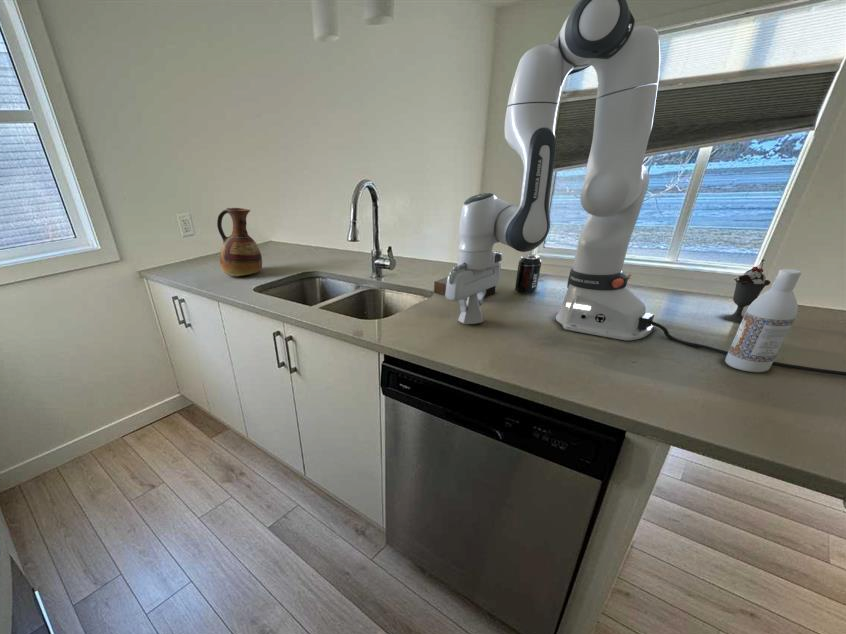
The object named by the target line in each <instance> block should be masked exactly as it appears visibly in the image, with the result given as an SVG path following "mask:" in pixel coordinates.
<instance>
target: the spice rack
mask: <svg viewBox="0 0 846 634" xmlns="http://www.w3.org/2000/svg"><path fill="white" fill-rule="evenodd" d="M496 252H497V253H501V252H500V251H496ZM447 279H448V276H447V277H444V278H440V279H437V280H435V281H434V282H433V293H436V294H439V295H443V296H445V293H446V285H447ZM496 286H497V285H496ZM496 286H494V287H491V288H489V289H486V294H485V296H484V298H486V297H488V296H491V295H494V294H496V288H497V287H496ZM477 294H478V293H477Z"/></svg>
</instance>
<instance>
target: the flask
mask: <svg viewBox="0 0 846 634" xmlns="http://www.w3.org/2000/svg"><path fill="white" fill-rule="evenodd" d="M466 304H467V305H469V308H468V309H469V310H468V311H467V312H461V311H460V314H459V316H458V322H460V323H462V324H464V325H465V324H466V325H468V324H469V325H475V324H480V323H483V322H484V315H483V312H482V310H481V305H480V306H479V302H478V296H477V294H474V295H472V296H469V297H467V301H466Z"/></svg>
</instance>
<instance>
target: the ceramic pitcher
mask: <svg viewBox="0 0 846 634" xmlns="http://www.w3.org/2000/svg"><path fill="white" fill-rule="evenodd" d="M250 212H251V209H248V208H241V207H227V208H226V209H223V210H222V211H221V212H219V214H218V216H217V220H216V221H217V222H216V227H217V230H218V233H219V235H220V237H221V239H222V242H223V244H222V246H221V249H220V254H219V266H220V269H221V271H222V272H223V273H224V274H225V275H228V276H230V277H246V276H249V275H253V274H257V273H259V272H261V271H262V269H263V257H262V253H261V251H260V247H259V246H258V244H257V243H256V241H255V240H254V239H253V237H251V236H250V235H249V232H248V230H247V225H248V224H247V217H248V215H249V214H250ZM226 214H228V215H229V216H230V217H231V220H232V231H231V235H229V236H226V234H225V232H224V230H223V223H222V222H223V218H224V216H225V215H226Z"/></svg>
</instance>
